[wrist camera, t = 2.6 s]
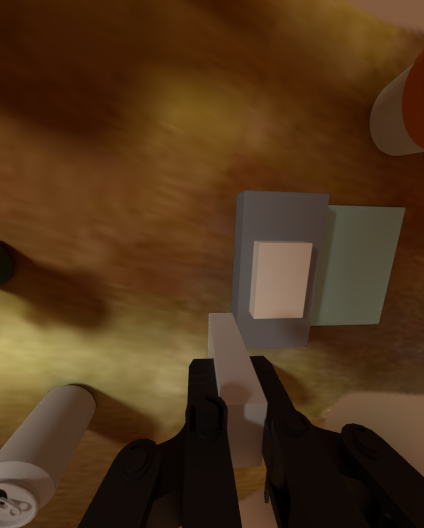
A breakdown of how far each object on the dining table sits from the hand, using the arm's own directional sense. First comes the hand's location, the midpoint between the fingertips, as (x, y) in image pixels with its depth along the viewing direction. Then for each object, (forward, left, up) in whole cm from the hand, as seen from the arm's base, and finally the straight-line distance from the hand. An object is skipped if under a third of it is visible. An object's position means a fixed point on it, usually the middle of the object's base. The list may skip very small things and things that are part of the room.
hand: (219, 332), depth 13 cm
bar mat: (0, +21, -16) cm, 26 cm away
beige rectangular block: (0, +8, -12) cm, 14 cm away
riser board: (0, +9, -16) cm, 18 cm away
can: (+21, -20, -16) cm, 33 cm away
